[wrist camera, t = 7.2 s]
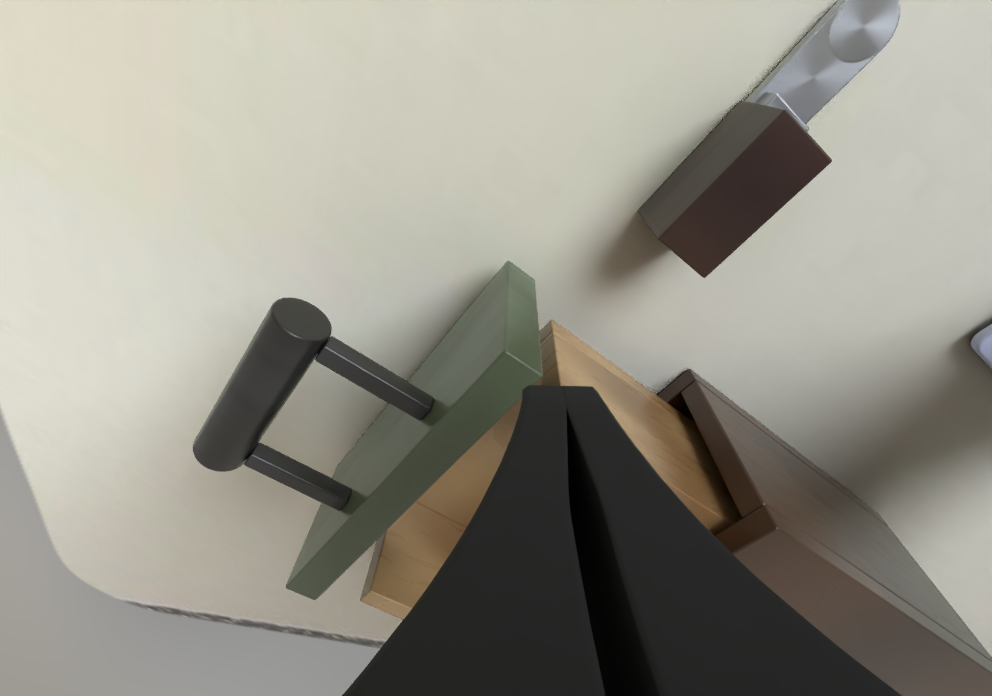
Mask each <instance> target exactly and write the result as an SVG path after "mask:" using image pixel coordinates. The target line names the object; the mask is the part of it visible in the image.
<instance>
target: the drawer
mask: <svg viewBox="0 0 992 696" xmlns="http://www.w3.org/2000/svg"><path fill="white" fill-rule="evenodd" d="M330 335H331V324H330V321H329V320H328V318H327V317H326V315H325V314H324V313H323V312H322V311H321V310H319V309H318V308H317V307H315V306H314V305H312V304H310V303H308V302H306V301H304V300H300V299H297V298H282V299H279V300H277V301H275V302H274V303H273V305H272V306H271V308H270V310H269V311H268V313H267V315H266V317H265V318H264V320H263V322H262V324H261V325H260V327H259V329H258V331H257V332H256V334H255V336H254V337H253V339H252V341H251V343H250V344H249V346H248V348H247V350H246V351H245V353H244V355H243V357H242V358H241V360H240V362H239V364H238V365H237V367H236V369H235V371H234V372H233V374H232V376H231V378H230V379H229V381H228V383H227V385H226V386H225V388H224V390H223V392H222V393H221V395H220V397H219V399H218V400H217V402H216V404H215V405H214V407H213V409H212V411H211V412H210V414H209V416H208V418H207V419H206V421H205V423H204V425H203V426H202V428H201V430H200V432H199V433H198V435H197V437H196V439H195V441H194V443H193V452H194V455H195V458H196V459H197V460H198V462H199V463H200V464H202V465H203V466H204V467H206V468H208V469H211V470H214V471H222V472H223V471H231V470H234V469H236V468H238V467H240V466H241V465H243V464H244V465H245V466H247V467H249V468H251V469H253V470H255V471H258V472H260V473H262V474H264V475H266V476H268V477H270V478H272V479H274V480H276V481H278V482H280V483H282V484H284V485H286V486H288V487H291V488H293V489H295V490H297V491H299V492H301V493H303V494H305V495H307V496H309V497H311V498H313V499H315V500H317V501H319V502H322V503H321V505H320V508H319V510H318V512H317V515H316V517H315V519H314V522H313V524H312V526H311V529H310V531H309V533H308V536H307V538H306V540H305V542H304V545H303V547H302V549H301V552H300V554H299V556H298V559H297V561H296V563H295V566H294V568H293V570H292V573H291V575H290V577H289V580H288V582H287V584H286V588H287V589H289V590H292V591H294V592H296V593H299V594H301V595H304V596H306V597H308V598H311V599H313V600H316V599H317V598H318V597H319V596H320V595H321V594H322V593H323V592H324V591H325V590H327V589H328V588H329V587H330V586H331V585H332V584H333V583H334V582H335V581H336V580H337V579H338V578H339V577H340V576H341V575H342V574H343V573H344V572H345V571H346V570H347V569H348V568H349V567H350V566H351V565H352V564H353V563H354V562H355V561H356V560H357V559H358V558H359V557H360V556H361V555H362V554H363V553H364V552H365V551H366V550H367V549H368V548H369V547H370V546H371V545H372V544H373V543H374V542H375V541H376V540H377V542H376V545H375V549H374V553H373V556H372V560H371V563H370V567H369V570H368V574H367V577H366V581H365V584H364V588H363V591H362V595H361V598H360V601H361V602H364V603H366V604H368V605H371V606H373V607H375V608H378V609H380V610H382V611H385V612H387V613H389V614H392V615H394V616H396V617H399V618H401V619H403V620H404V618H405V617H406V616H407V615H408V613H409V612H410V611H411V609H412V608H413V607H414V605H415V604H416V603H417V601H418V600H419V598H420V597H421V596H422V594H423V593H424V591H425V590H426V589H427V587H428V586H429V584H430V583H431V581H432V580H433V578H434V577H435V576H436V574H437V573H438V571H439V570H440V568H441V567H442V565H443V564H444V562H445V561H446V559H447V558H448V556H449V555H450V553H451V552H452V550H453V549H454V547H455V545H456V544H457V542H458V541H459V539H460V537H461V536H462V534H463V532H464V531H465V529H466V528H467V526H468V524H469V522H470V521H471V519H472V517H473V516H474V514H475V512H476V510H477V508H478V507H479V505H480V503H481V501H482V499H483V497H484V495H485V493H486V491H487V489H488V487H489V485H490V483H491V481H492V479H493V477H494V475H495V473H496V471H497V469H498V467H499V465H500V463H501V461H502V458H503V456H504V453H505V451H506V448H507V446H508V443H509V441H510V438H511V436H512V433H513V431H514V428H515V425H516V421H517V418H518V415H519V411H520V407H521V402H522V390H523V389H524V388H526V387H527V386H528V385H550V386H593V387H594V388H595V389H596V390H597V391H598V393H599V394H600V396H601V398H602V399H603V401H604V402H605V404H606V405H607V407H608V408H609V410H610V411H611V413H612V414H613V415H614V417H615V418H616V420H617V421H618V423H619V424H620V425H621V427H622V428H623V430H624V431H625V432H626V434H627V435H628V436H629V438H630V439H631V440H632V442H633V443H634V444H635V446H636V447H637V448H638V449H639V451H640V452H641V453H642V454H643V456H644V457H645V458H646V460H647V461H648V462H649V463H650V465H651V466H652V467H653V468H654V470H655V471H656V472H657V473H658V474H659V476H660V477H661V478H662V479H663V480H664V482H665V483H666V484H667V485H668V486H669V488H670V489H671V490H672V491H673V492H674V493H675V494H676V495H677V497H678V498H679V499H680V500H681V501H682V502H683V503H684V504H685V506H686V507H687V508H688V509H689V510H690V511H691V512H692V513H693V514H694V515H695V516H696V517H697V519H698V520H699V521H700V522H701V523H702V524H703V525H704V526H705V527H706V528H707V529H708V530H709V531H710V532H711V533H712V534H713V535H714V536H715V535H717V534H718V533H720V532H722V531H723V530H725V529H726V528H728V527H730V526H731V525H733V524H735V523H736V522H738V521H739V520H741V519H743V517H742V516H741V514H740V512H739V510H738V508H737V506H736V504H735V502H734V500H733V498H732V496H731V494H730V492H729V490H728V488H727V486H726V484H725V482H724V480H723V478H722V476H721V474H720V471H719V469H718V467H717V465H716V463H715V461H714V459H713V457H712V455H711V453H710V451H709V449H708V447H707V445H706V443H705V441H704V439H703V437H702V435H701V433H700V431H699V429H698V427H697V425H696V423H694V422H693V421H691V420H690V419H689V418H687V417H686V416H685V415H683V414H682V413H680V412H679V411H678V410H676V409H675V408H673V407H672V406H671V405H669V404H668V403H667V402H665V401H664V400H662V399H661V398H660V397H658V396H657V395H655V394H654V393H653V392H651V391H650V390H649V389H647V388H646V387H644V386H643V385H642V384H640V383H639V382H638V381H636V380H635V379H633V378H632V377H631V376H629V375H628V374H626V373H625V372H624V371H622V370H621V369H620V368H618V367H617V366H615V365H614V364H613V363H611V362H610V361H608V360H607V359H606V358H604V357H603V356H602V355H600V354H599V353H597V352H596V351H595V350H593V349H592V348H591V347H589V346H588V345H586V344H585V343H584V342H582V341H581V340H579V339H578V338H577V337H575V336H574V335H573V334H571V333H570V332H568V331H567V330H566V329H564V328H563V327H561V326H560V325H559V324H557V323H556V322H555V321H553V320H551V321H550V322H549V323H548V324H547V325H546V326H545V327H544V328H543V329H542V330H541V331H540V332H539V325H538V313H537V302H536V290H535V280H534V279H533V278H531V277H530V276H529V275H527V274H526V273H525V272H523V271H522V270H521V269H519V268H518V267H517V266H515V265H514V264H513V263H511V262H510V261H507V262H506V263H505V264H504V266H503V267H502V268H501V269H500V270H499V272H498V273H497V274H496V275H495V277H494V278H493V279H492V280H491V281H490V283H489V284H488V285H487V286H486V287H485V289H484V290H483V291H482V292H481V293H480V295H479V296H478V297H477V298H476V299H475V301H474V302H473V303H472V304H471V305H470V307H469V308H468V309H467V310H466V312H465V313H464V314H463V315H462V316H461V318H460V319H459V320H458V321H457V322H456V324H455V325H454V326H453V327H452V328H451V330H450V331H449V332H448V333H447V334H446V336H445V337H444V338H443V339H442V340H441V342H440V343H439V344H438V345H437V346H436V348H435V349H434V350H433V351H432V353H431V354H430V355H429V356H428V357H427V359H426V360H425V361H424V362H423V363H422V365H421V366H420V367H419V368H418V369H417V371H416V372H415V373H414V374H413V375H412V377H411V378H410V379H409V380H408V381H406V380H404V379H402V378H401V377H399V376H397V375H396V374H394V373H392V372H391V371H389V370H387V369H386V368H384V367H382V366H381V365H379V364H378V363H376V362H374V361H373V360H371V359H369V358H368V357H366V356H364V355H363V354H361V353H359V352H358V351H356V350H354V349H353V348H351V347H349V346H348V345H346V344H344V343H343V342H341V341H339V340H338V339H336V338H334V337H333V336H331V337H330ZM314 359H315V360H316V361H317V362H319V363H320V364H322V365H324V366H326V367H327V368H329V369H331V370H333V371H334V372H336V373H338V374H339V375H341V376H343V377H345V378H346V379H348V380H350V381H352V382H353V383H355V384H357V385H358V386H360V387H362V388H364V389H365V390H367V391H369V392H371V393H372V394H374V395H376V396H377V397H379V398H381V399H383V400H384V401H386V402H388V403H389V404H388V406H387V407H386V408H385V409H384V410H383V412H382V413H381V414H380V415H379V416H378V418H377V419H376V420H375V421H374V422H373V424H372V425H371V426H370V427H369V429H368V430H367V431H366V432H365V433H364V435H363V436H362V437H361V438H360V439H359V441H358V442H357V443H356V444H355V445H354V447H353V448H352V449H351V450H350V451H349V453H348V454H347V455H346V456H345V457H344V459H343V460H342V461H341V462H340V463H339V465H338V466H337V468H336V471H335V473H334V475H333V478H330V477H328V476H326V475H324V474H322V473H320V472H318V471H316V470H314V469H312V468H310V467H308V466H306V465H304V464H302V463H300V462H298V461H296V460H294V459H292V458H290V457H288V456H286V455H284V454H282V453H280V452H278V451H276V450H274V449H272V448H270V447H268V446H266V445H264V444H262V443H258V442H259V441H260V439H261V438H262V436H263V435H264V433H265V432H266V430H267V429H268V427H269V426H270V424H271V423H272V421H273V420H274V418H275V417H276V415H277V414H278V412H279V411H280V409H281V408H282V407H283V405H284V404H285V402H286V401H287V399H288V398H289V396H290V395H291V393H292V392H293V390H294V389H295V387H296V386H297V384H298V383H299V381H300V380H301V378H302V377H303V375H304V374H305V372H306V371H307V369H308V368H309V366H310V365H311V364H312V362H313V361H314Z"/></svg>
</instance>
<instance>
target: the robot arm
mask: <svg viewBox="0 0 992 696" xmlns="http://www.w3.org/2000/svg"><path fill="white" fill-rule="evenodd" d="M971 347H972V349H973V350H974V351H975V352H976V353H977V354H978V355H979V356H980V357H981V358H982V359H983V360H984V361H985V362H986V364H987V365H988V366H989V367H990V368H991V369H992V324H990V325H989V326H987V327H986V328H984V329H983V330H981V331H980V332H978V333H977V334H976V335H975V336H974V337H973V339H972V340H971ZM342 696H902V695H901V694H899V693H898V692H897V691H895V690H894V689H893V688H892V687H890V686H889V685H888V684H886V683H885V682H884V681H882V680H881V679H880V678H878V677H877V676H876V675H875V674H873V673H872V672H871V671H869V670H868V669H867V668H865V667H864V666H863V665H862V664H860V663H859V662H858V661H856V660H855V659H854V658H852V657H851V656H850V655H849V654H847V653H846V652H845V651H844V650H843V649H841V648H840V647H839V646H838V645H836V644H835V643H834V642H833V641H831V640H830V639H829V638H828V637H827V636H825V635H824V634H823V633H822V632H821V631H819V630H818V629H817V628H816V627H815V626H814V625H812V624H811V623H810V622H809V621H808V620H806V619H805V618H804V617H803V616H802V615H801V614H799V613H798V612H797V611H796V610H795V609H793V608H792V607H791V606H790V605H789V604H788V603H786V602H785V601H784V600H783V599H782V598H780V597H779V596H778V595H777V594H776V593H775V592H773V591H772V590H771V589H770V588H769V587H767V586H766V585H765V584H764V583H763V582H762V581H761V580H760V579H759V578H758V577H757V576H755V575H754V574H753V573H752V572H751V571H750V570H749V569H748V568H747V567H746V566H745V565H744V564H742V563H741V562H740V561H739V560H738V559H737V558H736V557H735V556H734V555H733V554H732V553H731V552H730V551H729V550H728V549H727V548H726V547H725V546H724V545H723V544H722V543H721V542H720V541H719V540H718V539H717V538H716V537H715V536H714V535H713V534H712V533H711V532H710V531H709V530H708V529H707V528H706V527H705V526H704V525H703V524H702V523H701V522H700V521H699V520H698V519H697V517H696V516H695V515H694V514H693V513H692V512H691V511H690V510H689V509H688V508H687V507H686V506H685V504H684V503H683V502H682V501H681V500H680V499H679V498H678V497H677V495H676V494H675V493H674V492H673V491H672V490H671V489H670V488H669V486H668V485H667V484H666V483H665V482H664V480H663V479H662V478H661V477H660V476H659V474H658V473H657V472H656V471H655V470H654V468H653V467H652V466H651V465H650V463H649V462H648V461H647V460H646V458H645V457H644V456H643V454H642V453H641V452H640V451H639V449H638V448H637V447H636V446H635V444H634V443H633V442H632V440H631V439H630V438H629V436H628V435H627V434H626V432H625V431H624V430H623V428H622V427H621V425H620V424H619V423H618V421H617V420H616V418H615V417H614V415H613V414H612V413H611V411H610V410H609V408H608V407H607V405H606V404H605V402H604V401H603V399H602V398H601V396H600V394H599V393H598V391H597V390H596V389H595V388H594V387H593V386H550V385H528V386H527V387H526V388H524V389H523V390H522V402H521V407H520V411H519V415H518V418H517V421H516V425H515V428H514V431H513V433H512V436H511V438H510V441H509V443H508V446H507V448H506V451H505V453H504V456H503V458H502V461H501V463H500V465H499V467H498V469H497V471H496V473H495V475H494V477H493V479H492V481H491V483H490V485H489V487H488V489H487V491H486V493H485V495H484V497H483V499H482V501H481V503H480V505H479V507H478V508H477V510H476V512H475V514H474V516H473V517H472V519H471V521H470V522H469V524H468V526H467V528H466V529H465V531H464V532H463V534H462V536H461V537H460V539H459V541H458V542H457V544H456V545H455V547H454V549H453V550H452V552H451V553H450V555H449V556H448V558H447V559H446V561H445V562H444V564H443V565H442V567H441V568H440V570H439V571H438V573H437V574H436V576H435V577H434V578H433V580H432V581H431V583H430V584H429V586H428V587H427V589H426V590H425V591H424V593H423V594H422V596H421V597H420V598H419V600H418V601H417V603H416V604H415V605H414V607H413V608H412V609H411V611H410V612H409V613H408V615H407V616H406V617H405V618H404V620H403V621H402V622H401V623H400V625H399V626H398V627H397V629H396V630H395V631H394V632H393V634H392V635H391V636H390V637H389V639H388V640H387V641H386V643H385V644H384V645H383V646H382V648H381V649H380V650H379V651H378V653H377V654H376V655H375V657H374V658H373V659H372V660H371V662H370V663H369V664H368V666H367V667H366V668H365V669H364V670H363V672H362V673H361V674H360V675H359V676H358V678H357V679H356V680H355V681H354V683H353V684H352V685H351V686H350V687H349V688H348V690H347V691H346V692H345V693H344V694H343V695H342Z"/></svg>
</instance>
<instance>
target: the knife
mask: <svg viewBox="0 0 992 696" xmlns="http://www.w3.org/2000/svg"><path fill="white" fill-rule="evenodd" d="M899 17H900V4H899V0H839V1H837V2H836V4H835V5H834V6H833V7H832V8H831V9H830V10H829V11H828V12H827V13H826V14H825V15H824V16H823V17H822V19H821V20H820V21H819V22H818V23H817V24H816V25H815V26H814V27H813V28H812V29H811V30H810V31H809V32H808V33H807V35H806V36H805V37H804V38H803V39H802V40H801V41H800V42H799V43H798V44H797V45H796V46H795V47H794V48H793V50H792V51H791V52H790V53H789V54H788V55H787V56H786V57H785V58H784V59H783V60H782V61H781V62H780V63H779V64H778V66H777V67H776V68H775V69H774V70H773V71H772V72H771V73H770V74H769V75H768V76H767V77H766V78H765V79H764V81H763V82H762V83H761V84H760V85H759V86H758V87H757V88H756V89H755V90H754V91H753V92H752V93H751V94H750V95H749V97H748V98H747V99H746V100H745V101H742V100H741V101H740V102H739V103H738V104H737V105H736V106H735V107H734V108H733V109H732V110H731V111H730V112H729V114H728V115H727V116H726V117H725V118H724V119H723V120H722V121H721V122H720V123H719V124H718V125H717V126H716V128H715V129H714V130H713V131H712V132H711V133H710V134H709V135H708V136H707V137H706V138H705V139H704V140H703V141H702V143H701V144H700V145H699V146H698V147H697V148H696V149H695V150H694V151H693V152H692V153H691V154H690V155H689V157H688V158H687V159H686V160H685V161H684V162H683V163H682V164H681V165H680V166H679V167H678V168H677V169H676V170H675V172H674V173H673V174H672V175H671V176H670V177H669V178H668V179H667V180H666V181H665V182H664V183H663V184H662V186H661V187H660V188H659V189H658V190H657V191H656V192H655V193H654V194H653V195H652V196H651V197H650V198H649V199H648V201H647V202H646V203H645V204H644V205H643V206H642V207H641V208H640V209H639V210H638V213H639V214H640V216H641V217H642V218H643V220H644V221H645V222H646V223H647V225H648V226H649V227H650V229H651V230H652V231H653V233H654V234H655V235H656V236H657V238H658V239H659V240H660V241H661V242H662V243H664V244H665V245H666V246H667V247H668V248H669V249H671V250H672V251H673V252H674V253H675V254H676V255H677V256H679V257H680V258H681V259H682V260H683V261H684V262H686V263H687V264H688V265H689V266H690V267H691V268H693V269H694V270H695V271H696V272H697V273H698V274H699V275H701V276H702V277H704V278H705V277H706V276H707V275H709V274H710V273H711V272H712V271H713V270H714V269H715V268H716V267H717V266H718V265H719V264H721V263H722V262H723V261H724V260H725V259H726V258H727V257H728V256H729V255H730V254H731V253H733V252H734V251H735V250H736V249H737V248H738V247H739V246H740V245H741V244H742V243H743V242H745V241H746V240H747V239H748V238H749V237H750V236H751V235H752V234H753V233H754V232H755V231H757V230H758V229H759V228H760V227H761V226H762V225H763V224H764V223H765V222H766V221H767V220H769V219H770V218H771V217H772V216H773V215H774V214H775V213H776V212H777V211H778V210H780V209H781V208H782V207H783V206H784V205H785V204H786V203H787V202H788V201H789V200H790V199H792V198H793V197H794V196H795V195H796V194H797V193H798V192H799V191H800V190H801V189H802V188H804V187H805V186H806V185H807V184H808V183H809V182H810V181H811V180H812V179H813V178H814V177H816V176H817V175H818V174H819V173H820V172H821V171H822V170H823V169H824V168H825V167H826V166H828V165H829V164H830V163H831V162H832V160H831V158H830V157H829V156H828V155H827V154H826V153H825V152H824V150H823V149H822V148H821V147H820V146H819V145H818V144H817V143H816V142H815V141H814V139H813V138H812V137H811V136H810V135H809V134H808V133H807V131H808V130H809V128H808V126H807V125H806V123H807V122H808V121H809V120H810V119H811V118H812V117H814V116H815V115H816V114H817V113H818V112H819V111H820V110H821V109H822V108H823V107H824V106H825V105H826V104H827V103H828V102H829V101H830V100H831V99H832V98H833V97H834V96H835V95H836V94H837V93H838V92H839V91H840V90H841V89H842V88H843V87H844V86H845V85H846V84H847V83H848V82H849V81H850V80H851V79H852V78H853V77H854V76H855V75H856V74H857V73H858V72H860V71H861V70H862V69H863V68H864V67H865V66H866V65H867V64H868V63H869V62H870V61H871V60H872V59H873V58H874V57H875V56H876V55H877V54H878V53H879V52H880V51H881V50H882V49H883V48H884V47H885V46H886V44H887V43H888V42H889V41H890V39H891V37H892V36H893V34H894V32H895V30H896V27H897V25H898V21H899Z"/></svg>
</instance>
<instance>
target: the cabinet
mask: <svg viewBox="0 0 992 696" xmlns="http://www.w3.org/2000/svg"><path fill="white" fill-rule="evenodd" d="M657 396H658V397H660V398H661V399H662V400H664V401H665V402H667V403H668V404H669V405H671V406H672V407H673V408H675V409H676V410H678V411H679V412H680V413H682V414H683V415H685V416H686V417H687V418H689V419H690V420H691V421H693V422H694V423H696V425H697V427H698V429H699V431H700V433H701V435H702V437H703V439H704V441H705V443H706V445H707V447H708V449H709V451H710V453H711V455H712V457H713V459H714V461H715V463H716V465H717V467H718V469H719V471H720V474H721V476H722V478H723V480H724V482H725V484H726V486H727V488H728V490H729V492H730V494H731V496H732V498H733V500H734V502H735V504H736V506H737V508H738V510H739V512H740V514H741V516H742V517H743V519H741V520H739V521H738V522H736V523H735V524H733V525H731V526H730V527H728V528H726V529H725V530H723V531H722V532H720V533H718V534H717V535H715V537H716V538H717V539H718V540H719V541H720V542H721V543H722V544H723V545H724V546H725V547H726V548H727V549H728V550H729V551H730V552H731V553H732V554H733V555H734V556H735V557H736V558H737V559H738V560H739V561H740V562H741V563H742V564H744V565H745V566H746V567H747V568H748V569H749V570H750V571H751V572H752V573H753V574H754V575H755V576H757V577H758V578H759V579H760V580H761V581H762V582H763V583H764V584H765V585H766V586H767V587H769V588H770V589H771V590H772V591H773V592H775V593H776V594H777V595H778V596H779V597H780V598H782V599H783V600H784V601H785V602H786V603H788V604H789V605H790V606H791V607H792V608H793V609H795V610H796V611H797V612H798V613H799V614H801V615H802V616H803V617H804V618H805V619H806V620H808V621H809V622H810V623H811V624H812V625H814V626H815V627H816V628H817V629H818V630H819V631H821V632H822V633H823V634H824V635H825V636H827V637H828V638H829V639H830V640H831V641H833V642H834V643H835V644H836V645H838V646H839V647H840V648H841V649H843V650H844V651H845V652H846V653H847V654H849V655H850V656H851V657H852V658H854V659H855V660H856V661H858V662H859V663H860V664H862V665H863V666H864V667H865V668H867V669H868V670H869V671H871V672H872V673H873V674H875V675H876V676H877V677H878V678H880V679H881V680H882V681H884V682H885V683H886V684H888V685H889V686H890V687H892V688H893V689H894V690H895V691H897V692H898V693H899V694H901V695H902V696H992V657H991V656H990V654H989V653H988V652H987V651H986V649H985V648H984V647H983V646H982V644H981V643H980V642H979V641H978V639H977V638H976V637H975V635H974V634H973V633H972V632H971V630H970V629H969V628H968V627H967V625H966V624H965V623H964V622H963V620H962V619H961V618H960V617H959V615H958V614H957V613H956V611H955V610H954V609H953V608H952V606H951V605H950V604H949V603H948V601H947V600H946V599H945V598H944V596H943V595H942V594H941V592H940V591H939V590H938V589H937V587H936V586H935V585H934V584H933V582H932V581H931V580H930V579H929V577H928V576H927V575H926V573H925V572H924V571H923V570H922V568H921V567H920V566H919V565H918V563H917V562H916V561H915V560H914V558H913V557H912V556H911V555H910V553H909V552H908V551H907V549H906V548H905V547H904V546H903V544H902V543H901V542H900V541H899V539H898V538H897V537H896V536H895V534H894V533H893V532H892V530H891V529H890V528H889V527H888V525H887V524H886V523H885V521H884V520H883V519H882V518H881V516H880V515H879V514H878V513H877V512H875V511H874V510H873V509H871V508H870V507H869V506H868V505H866V504H865V503H864V502H862V501H861V500H860V499H858V498H857V497H856V496H855V495H853V494H852V493H851V492H849V491H848V490H847V489H846V488H844V487H843V486H842V485H840V484H839V483H838V482H836V481H835V480H834V479H833V478H831V477H830V476H829V475H827V474H826V473H825V472H823V471H822V470H821V469H820V468H818V467H817V466H816V465H814V464H813V463H812V462H810V461H809V460H808V459H807V458H805V457H804V456H803V455H801V454H800V453H799V452H797V451H796V450H795V449H794V448H792V447H791V446H790V445H788V444H787V443H786V442H784V441H783V440H782V439H781V438H779V437H778V436H777V435H775V434H774V433H773V432H771V431H770V430H769V429H768V428H766V427H765V426H764V425H762V424H761V423H760V422H758V421H757V420H756V419H755V418H753V417H752V416H751V415H749V414H748V413H747V412H745V411H744V410H743V409H742V408H740V407H739V406H738V405H736V404H735V403H734V402H732V401H731V400H730V399H729V398H727V397H726V396H725V395H723V394H722V393H721V392H719V391H718V390H717V389H716V388H714V387H713V386H712V385H710V384H709V383H708V382H706V381H705V380H704V379H703V378H701V377H700V376H699V375H697V374H696V373H695V372H693V371H692V370H691V369H688V370H687V371H686V372H684V373H683V374H682V375H681V376H680V377H678V378H677V379H676V380H675V381H674V382H672V383H671V384H670V385H669V386H668V387H666V388H665V389H664V390H663V391H662V392H660V393H659V394H658V395H657Z"/></svg>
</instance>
